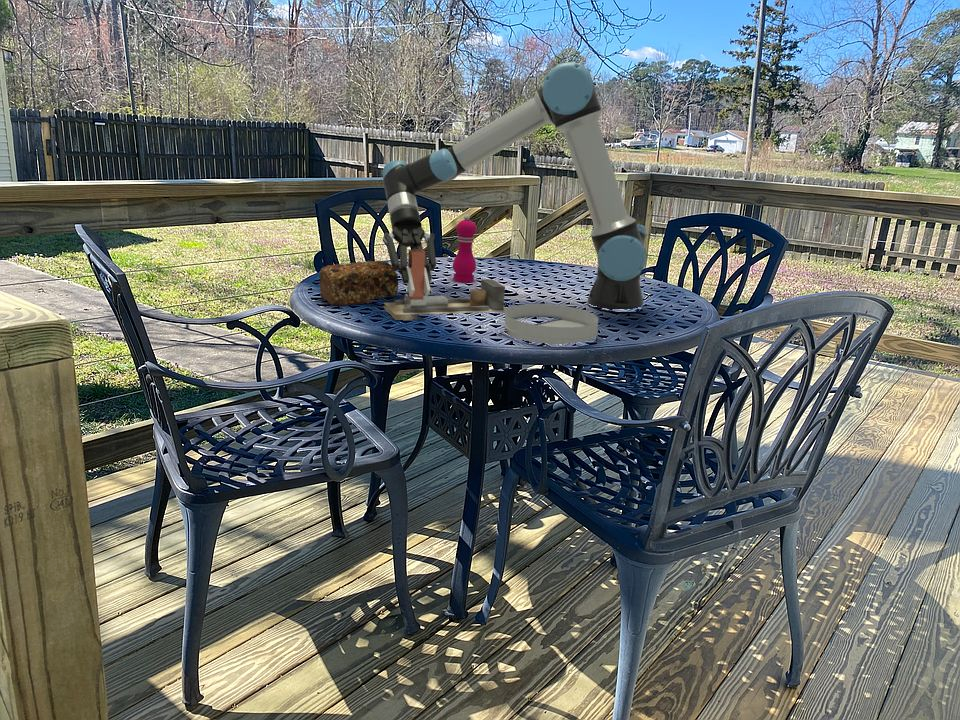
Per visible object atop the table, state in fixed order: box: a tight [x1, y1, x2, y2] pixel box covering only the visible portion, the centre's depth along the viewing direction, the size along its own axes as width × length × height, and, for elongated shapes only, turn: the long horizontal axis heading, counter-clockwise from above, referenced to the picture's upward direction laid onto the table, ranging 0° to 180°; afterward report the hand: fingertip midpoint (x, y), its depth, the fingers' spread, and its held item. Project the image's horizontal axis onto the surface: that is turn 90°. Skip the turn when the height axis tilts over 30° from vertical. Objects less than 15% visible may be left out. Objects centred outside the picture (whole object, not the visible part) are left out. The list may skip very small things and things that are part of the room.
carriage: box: [403, 248, 449, 308], centre depth 182 cm, size 10×6×14 cm, turn 110°
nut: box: [469, 288, 486, 306], centre depth 188 cm, size 4×4×4 cm
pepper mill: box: [452, 214, 477, 283], centre depth 223 cm, size 7×7×20 cm
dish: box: [503, 303, 599, 344], centre depth 172 cm, size 22×22×5 cm
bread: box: [318, 260, 399, 306], centre depth 193 cm, size 19×11×10 cm, turn 119°
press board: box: [382, 278, 508, 321], centre depth 186 cm, size 30×12×8 cm, turn 110°
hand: (419, 293), depth 178 cm, fingers closed on carriage, 3 cm apart
